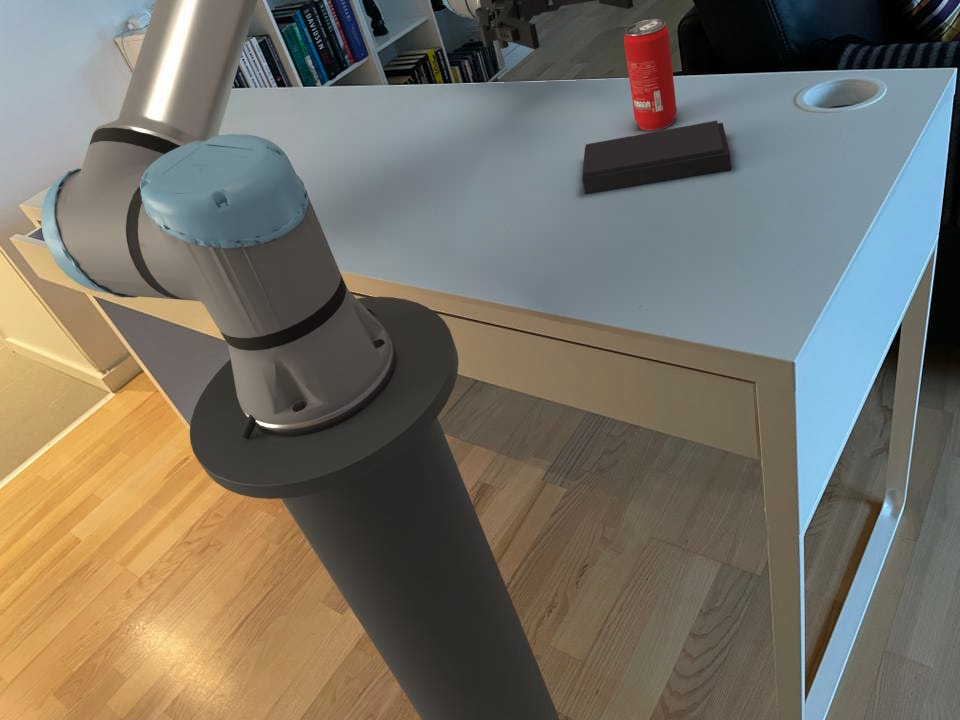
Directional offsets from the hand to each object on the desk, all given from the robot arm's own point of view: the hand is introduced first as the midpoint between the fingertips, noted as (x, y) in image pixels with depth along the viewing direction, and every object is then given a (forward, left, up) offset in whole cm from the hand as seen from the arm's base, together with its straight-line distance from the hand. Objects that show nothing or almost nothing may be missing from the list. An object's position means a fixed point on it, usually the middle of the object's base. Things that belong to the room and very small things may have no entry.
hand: (582, 16), depth 92 cm
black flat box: (-8, -13, -14) cm, 21 cm away
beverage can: (+2, -7, -14) cm, 16 cm away
